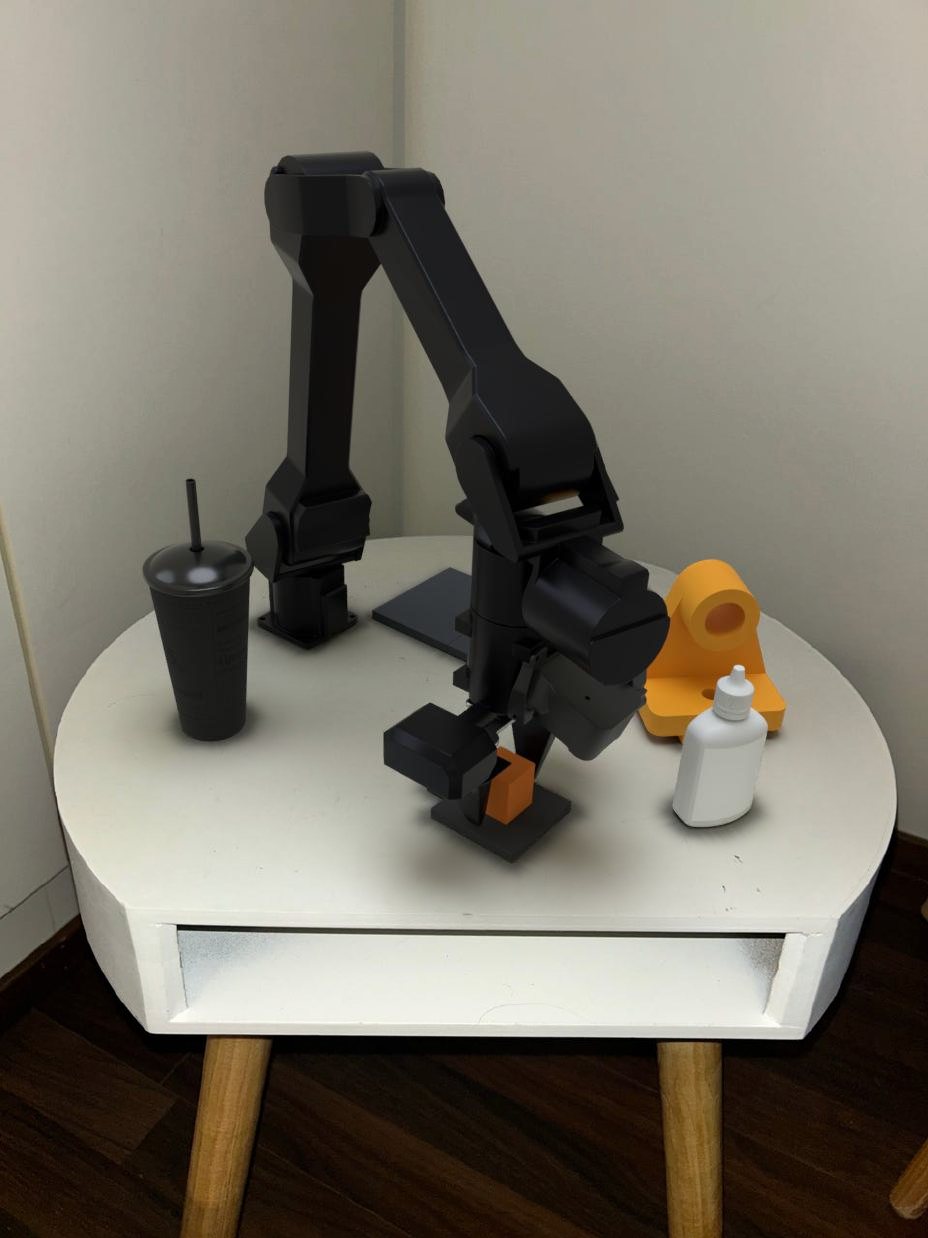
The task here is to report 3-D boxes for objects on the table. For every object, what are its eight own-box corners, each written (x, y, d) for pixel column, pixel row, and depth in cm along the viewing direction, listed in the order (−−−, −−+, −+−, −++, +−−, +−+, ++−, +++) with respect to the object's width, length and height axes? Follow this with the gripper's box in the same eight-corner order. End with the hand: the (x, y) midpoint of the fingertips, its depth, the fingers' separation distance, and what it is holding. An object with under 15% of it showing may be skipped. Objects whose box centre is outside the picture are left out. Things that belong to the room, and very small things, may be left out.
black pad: (408, 804, 77) (408, 755, 75) (470, 757, 82) (472, 710, 80) (511, 863, 72) (516, 813, 70) (571, 810, 77) (576, 761, 75)
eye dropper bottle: (755, 835, 76) (788, 690, 70) (672, 827, 76) (698, 682, 70) (747, 794, 79) (778, 653, 73) (669, 786, 80) (693, 646, 74)
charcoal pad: (371, 617, 99) (371, 610, 98) (449, 574, 106) (449, 566, 106) (468, 662, 93) (469, 654, 92) (543, 613, 100) (544, 605, 100)
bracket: (649, 745, 84) (670, 609, 78) (624, 691, 90) (642, 561, 84) (783, 738, 85) (814, 604, 79) (750, 685, 91) (777, 557, 85)
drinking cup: (215, 682, 89) (194, 449, 79) (285, 717, 85) (271, 477, 75) (140, 726, 84) (106, 482, 73) (211, 765, 80) (186, 515, 70)
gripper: (535, 723, 57) (516, 936, 65) (705, 592, 70) (671, 783, 78) (376, 646, 63) (377, 850, 71) (560, 538, 76) (543, 721, 84)
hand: (502, 799), depth 76 cm, fingers open, 6 cm apart
